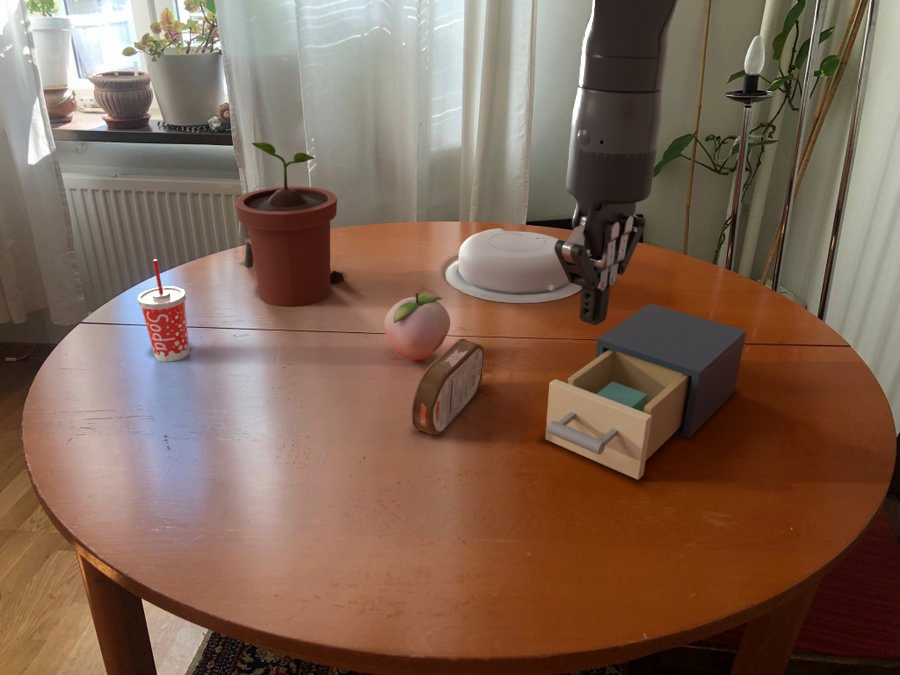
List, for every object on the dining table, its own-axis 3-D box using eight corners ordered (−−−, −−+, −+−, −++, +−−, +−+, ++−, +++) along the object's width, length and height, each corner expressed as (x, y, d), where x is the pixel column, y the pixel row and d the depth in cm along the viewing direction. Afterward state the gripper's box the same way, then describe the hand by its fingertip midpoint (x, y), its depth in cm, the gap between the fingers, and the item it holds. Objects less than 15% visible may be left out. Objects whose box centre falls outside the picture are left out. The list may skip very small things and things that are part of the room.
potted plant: (231, 315, 116) (208, 154, 104) (245, 265, 135) (227, 125, 124) (345, 309, 118) (335, 150, 107) (343, 261, 137) (335, 123, 126)
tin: (465, 385, 96) (466, 326, 93) (487, 390, 95) (489, 331, 91) (409, 444, 84) (407, 379, 80) (434, 451, 83) (433, 385, 79)
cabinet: (687, 443, 85) (700, 372, 81) (590, 405, 92) (597, 338, 88) (733, 396, 94) (746, 330, 90) (641, 365, 101) (650, 303, 97)
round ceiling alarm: (416, 277, 130) (415, 244, 127) (501, 242, 147) (502, 212, 144) (533, 316, 116) (535, 279, 113) (613, 272, 133) (617, 239, 130)
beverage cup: (139, 358, 102) (119, 263, 96) (171, 341, 107) (155, 249, 101) (172, 368, 100) (154, 271, 94) (204, 349, 105) (189, 256, 99)
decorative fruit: (409, 339, 108) (407, 275, 104) (458, 352, 104) (458, 287, 100) (372, 366, 101) (368, 298, 96) (423, 381, 97) (422, 311, 93)
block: (642, 427, 84) (647, 393, 82) (624, 444, 81) (628, 410, 79) (608, 413, 86) (612, 381, 84) (589, 429, 83) (592, 396, 81)
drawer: (618, 500, 74) (626, 438, 71) (523, 456, 81) (527, 397, 77) (689, 429, 86) (699, 373, 82) (600, 395, 92) (606, 343, 89)
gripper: (613, 160, 58) (590, 356, 66) (686, 137, 67) (658, 311, 75) (534, 145, 62) (521, 330, 70) (613, 125, 71) (594, 291, 79)
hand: (592, 320), depth 72 cm, fingers closed
